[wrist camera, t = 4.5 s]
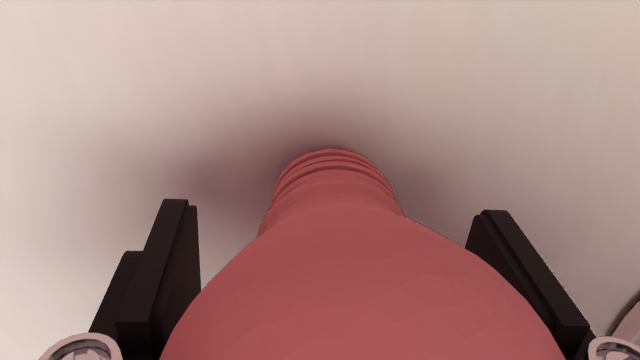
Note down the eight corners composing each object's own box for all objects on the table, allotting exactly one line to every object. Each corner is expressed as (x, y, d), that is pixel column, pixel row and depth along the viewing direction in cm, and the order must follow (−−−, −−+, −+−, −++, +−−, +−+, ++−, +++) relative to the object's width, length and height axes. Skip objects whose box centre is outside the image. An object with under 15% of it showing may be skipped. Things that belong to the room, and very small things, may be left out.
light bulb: (216, 59, 13) (-24, 595, 3) (461, 87, 14) (920, 581, 4) (210, 258, 17) (88, 826, 7) (406, 272, 18) (575, 793, 7)
